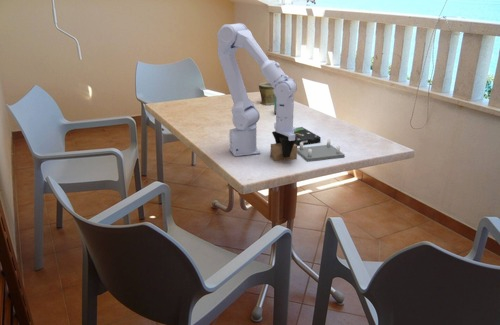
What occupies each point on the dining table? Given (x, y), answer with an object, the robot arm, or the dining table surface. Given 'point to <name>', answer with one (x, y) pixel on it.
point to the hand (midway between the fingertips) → (283, 154)
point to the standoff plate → (319, 152)
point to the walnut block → (278, 153)
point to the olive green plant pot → (267, 94)
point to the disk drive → (305, 137)
